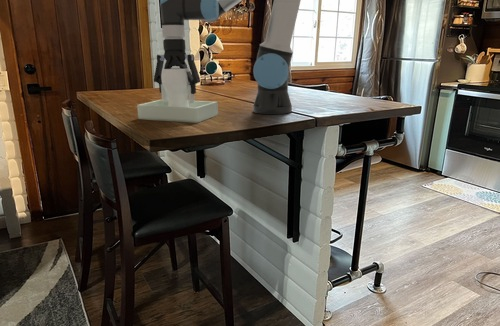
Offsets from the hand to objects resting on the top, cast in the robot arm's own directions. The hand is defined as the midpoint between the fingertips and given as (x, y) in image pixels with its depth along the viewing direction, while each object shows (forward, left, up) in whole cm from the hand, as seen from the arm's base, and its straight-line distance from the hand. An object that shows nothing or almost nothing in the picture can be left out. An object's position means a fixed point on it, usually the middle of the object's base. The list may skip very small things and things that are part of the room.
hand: (178, 102), depth 140 cm
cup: (0, 0, -3) cm, 3 cm away
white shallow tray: (0, 0, -5) cm, 5 cm away
